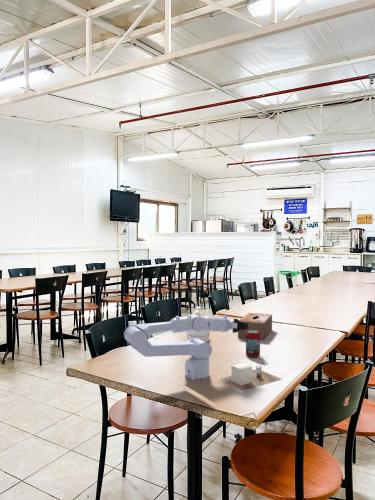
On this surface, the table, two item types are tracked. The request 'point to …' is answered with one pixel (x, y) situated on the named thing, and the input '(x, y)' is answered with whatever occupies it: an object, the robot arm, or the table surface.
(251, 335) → the beverage can
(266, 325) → the tissue box cover
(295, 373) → the table surface
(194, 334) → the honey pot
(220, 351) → the table surface
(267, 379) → the board
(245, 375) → the plaster cube
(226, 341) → the table surface
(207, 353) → the robot arm
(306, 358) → the table surface
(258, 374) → the stub
